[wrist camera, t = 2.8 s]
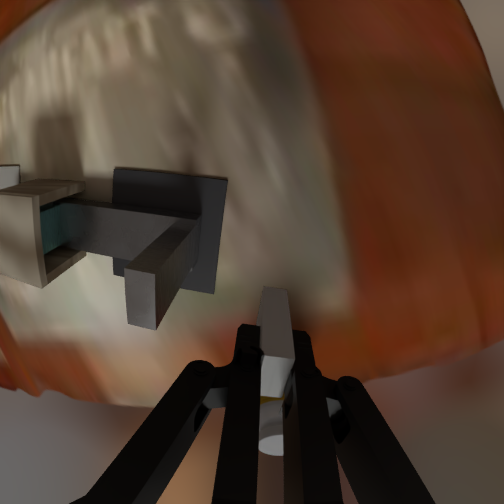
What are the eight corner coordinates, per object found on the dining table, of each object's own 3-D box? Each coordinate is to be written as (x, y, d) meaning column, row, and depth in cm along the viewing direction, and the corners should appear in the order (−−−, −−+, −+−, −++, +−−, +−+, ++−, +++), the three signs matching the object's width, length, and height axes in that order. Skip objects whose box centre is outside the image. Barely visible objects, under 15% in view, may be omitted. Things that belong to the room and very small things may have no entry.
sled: (16, 193, 27) (-53, 219, 15) (201, 214, 27) (155, 266, 15) (19, 229, 28) (-46, 264, 17) (197, 262, 29) (156, 336, 17)
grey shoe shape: (114, 168, 26) (113, 169, 26) (227, 180, 26) (227, 180, 26) (114, 273, 30) (113, 274, 30) (214, 293, 31) (213, 294, 30)
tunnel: (37, 178, 27) (-13, 193, 18) (84, 181, 27) (31, 197, 18) (41, 245, 30) (-3, 272, 22) (86, 255, 30) (42, 288, 22)
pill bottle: (249, 354, 33) (242, 431, 22) (302, 348, 33) (313, 426, 22) (256, 388, 36) (252, 460, 25) (304, 384, 35) (312, 456, 24)
